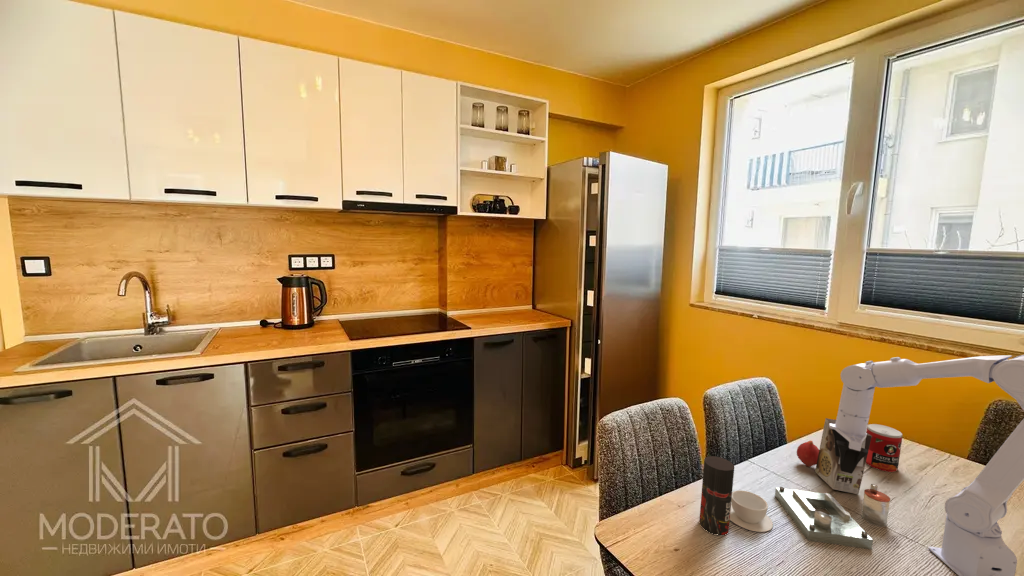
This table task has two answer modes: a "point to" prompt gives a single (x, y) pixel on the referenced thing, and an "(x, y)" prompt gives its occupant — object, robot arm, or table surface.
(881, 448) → the canned food
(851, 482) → the coffee box
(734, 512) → the teacup
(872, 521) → the spout can
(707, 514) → the deodorant
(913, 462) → the table surface
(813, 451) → the onion
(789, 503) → the mounting plate with knobs
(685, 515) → the table surface
